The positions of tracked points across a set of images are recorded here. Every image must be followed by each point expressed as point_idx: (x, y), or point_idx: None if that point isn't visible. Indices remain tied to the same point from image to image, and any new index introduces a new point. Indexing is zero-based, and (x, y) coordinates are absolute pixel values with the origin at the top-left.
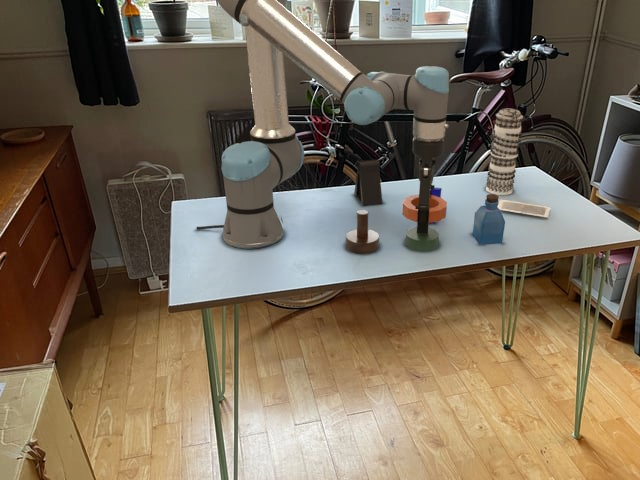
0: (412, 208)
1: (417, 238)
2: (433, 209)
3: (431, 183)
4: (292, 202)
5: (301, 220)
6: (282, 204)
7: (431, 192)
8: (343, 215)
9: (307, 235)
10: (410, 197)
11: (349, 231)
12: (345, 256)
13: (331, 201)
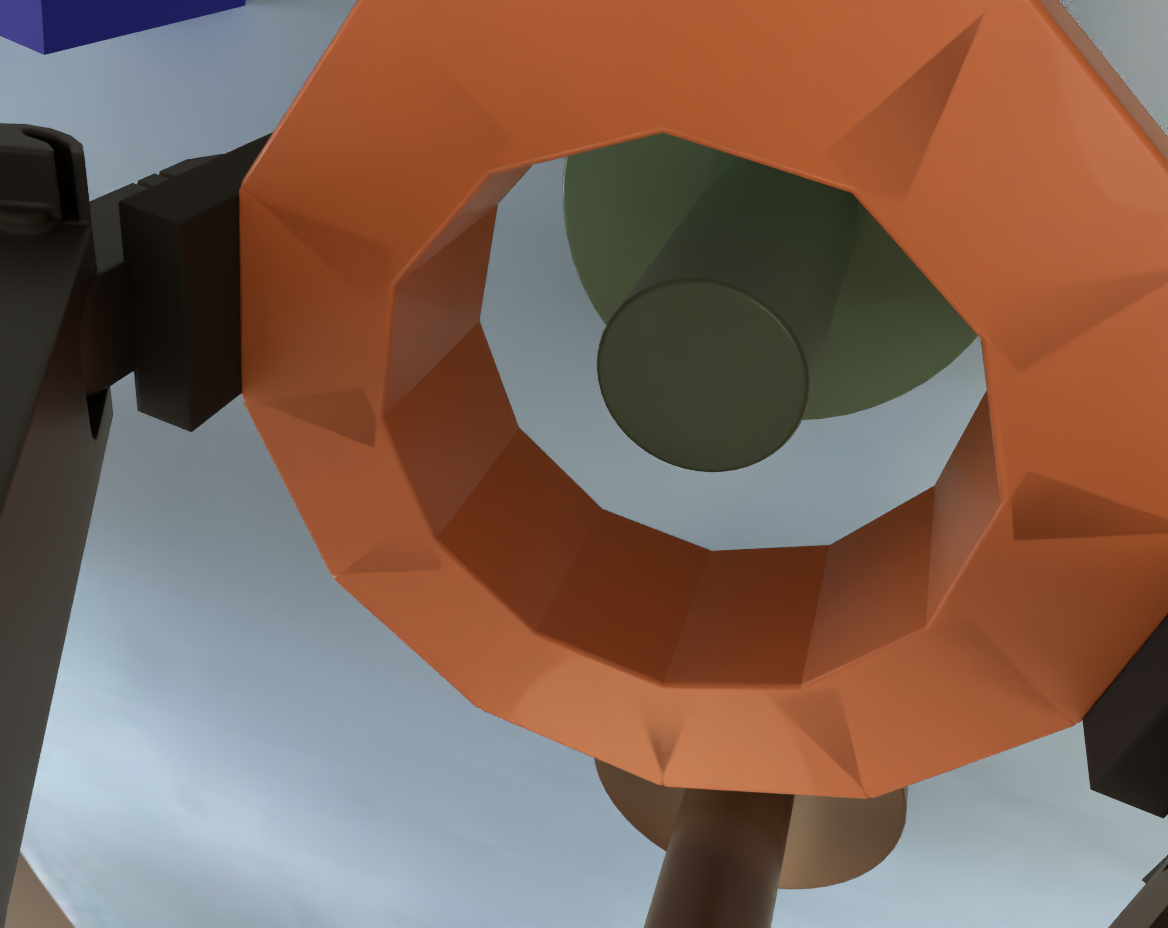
0: (918, 752)
1: (923, 327)
2: (1124, 411)
3: (55, 350)
4: (113, 832)
5: (339, 871)
6: (152, 876)
7: (196, 215)
8: (225, 656)
9: (547, 912)
10: (409, 605)
11: (641, 832)
12: (916, 849)
13: None
